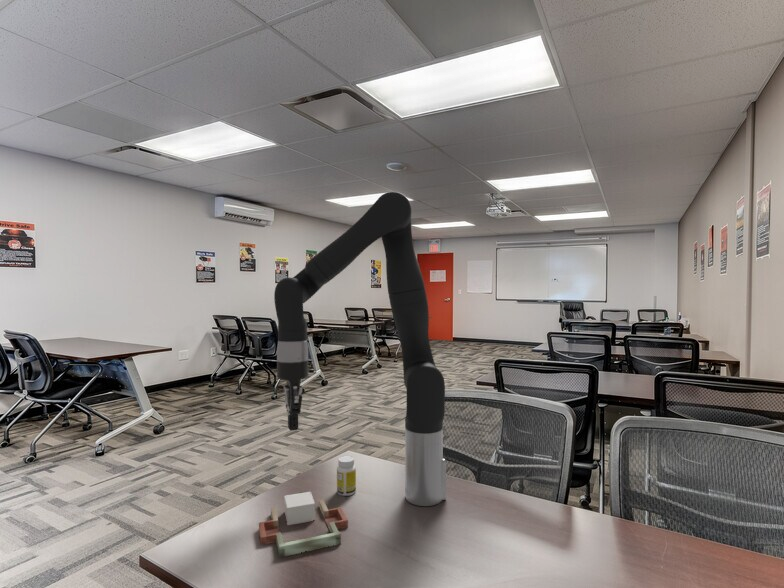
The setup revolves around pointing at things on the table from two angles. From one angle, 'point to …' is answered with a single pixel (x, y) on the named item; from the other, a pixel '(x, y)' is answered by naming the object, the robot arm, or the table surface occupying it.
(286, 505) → the grey block
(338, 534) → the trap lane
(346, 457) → the supplement bottle
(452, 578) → the table surface
